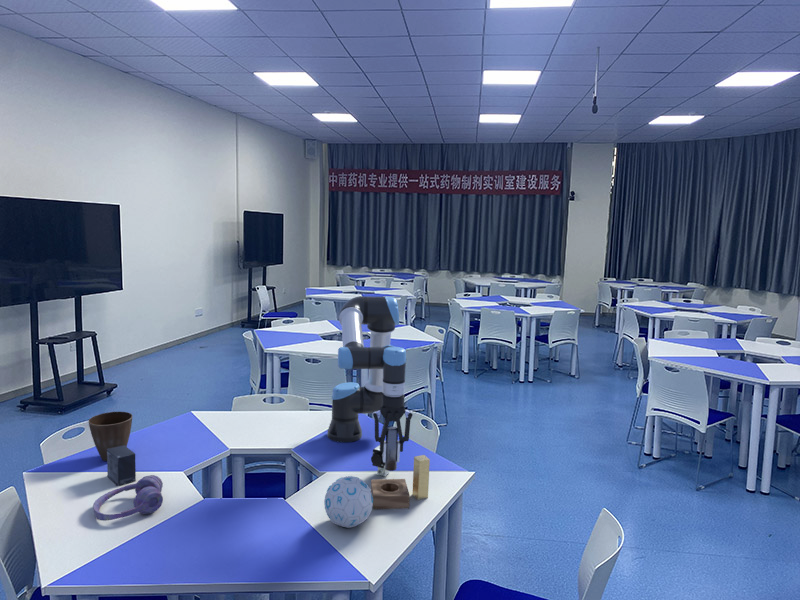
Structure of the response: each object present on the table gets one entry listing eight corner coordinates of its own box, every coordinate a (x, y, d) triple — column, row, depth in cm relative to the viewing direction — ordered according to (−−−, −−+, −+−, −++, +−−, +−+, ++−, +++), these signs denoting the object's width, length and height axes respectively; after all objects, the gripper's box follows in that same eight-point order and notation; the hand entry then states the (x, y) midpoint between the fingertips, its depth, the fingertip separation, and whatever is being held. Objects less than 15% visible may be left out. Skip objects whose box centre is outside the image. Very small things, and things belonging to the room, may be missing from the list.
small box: (137, 481, 194) (136, 452, 193) (118, 486, 189) (116, 458, 188) (125, 471, 201) (124, 443, 200) (106, 476, 197) (105, 448, 195)
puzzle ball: (328, 510, 179) (329, 466, 177) (374, 512, 179) (375, 469, 177) (320, 536, 164) (320, 489, 162) (370, 538, 164) (371, 491, 162)
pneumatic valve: (369, 478, 202) (370, 447, 201) (385, 467, 213) (386, 437, 211) (382, 482, 200) (384, 451, 198) (398, 470, 210) (399, 440, 208)
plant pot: (95, 469, 201) (93, 428, 199) (86, 455, 212) (84, 416, 210) (138, 459, 211) (137, 419, 209) (127, 446, 222) (126, 408, 220)
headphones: (164, 488, 188) (99, 507, 181) (160, 467, 187) (94, 484, 179) (165, 515, 172) (93, 536, 164) (160, 491, 170) (87, 512, 163)
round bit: (384, 465, 187) (385, 426, 186) (395, 465, 188) (397, 426, 186) (385, 471, 183) (386, 430, 182) (397, 470, 184) (398, 430, 182)
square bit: (412, 494, 192) (414, 456, 190) (422, 492, 194) (424, 454, 192) (417, 499, 188) (419, 461, 186) (428, 497, 190) (429, 459, 188)
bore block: (370, 491, 193) (371, 479, 192) (404, 490, 194) (404, 478, 194) (373, 509, 181) (373, 496, 180) (409, 508, 182) (409, 495, 182)
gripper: (368, 397, 178) (366, 465, 181) (420, 397, 180) (417, 464, 183) (367, 390, 185) (365, 456, 188) (416, 390, 187) (414, 455, 190)
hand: (390, 460), depth 185 cm, fingers closed on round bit, 4 cm apart
